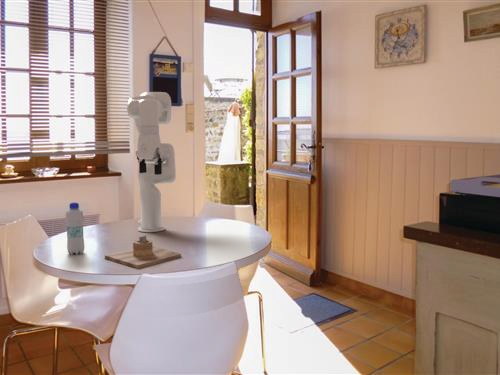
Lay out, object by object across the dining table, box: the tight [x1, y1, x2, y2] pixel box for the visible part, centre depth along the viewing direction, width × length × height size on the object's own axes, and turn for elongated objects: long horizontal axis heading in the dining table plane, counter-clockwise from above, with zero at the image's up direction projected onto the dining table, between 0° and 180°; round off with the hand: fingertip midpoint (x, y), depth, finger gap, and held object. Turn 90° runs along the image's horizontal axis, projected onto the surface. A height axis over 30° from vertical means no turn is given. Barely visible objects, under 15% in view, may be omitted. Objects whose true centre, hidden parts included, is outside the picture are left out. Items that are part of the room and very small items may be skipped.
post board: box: [104, 235, 182, 270], centre depth 181 cm, size 20×20×8 cm
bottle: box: [64, 202, 85, 256], centre depth 186 cm, size 7×7×20 cm
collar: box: [132, 238, 154, 257], centre depth 181 cm, size 7×7×5 cm
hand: (150, 173), depth 195 cm, fingers open, 9 cm apart
